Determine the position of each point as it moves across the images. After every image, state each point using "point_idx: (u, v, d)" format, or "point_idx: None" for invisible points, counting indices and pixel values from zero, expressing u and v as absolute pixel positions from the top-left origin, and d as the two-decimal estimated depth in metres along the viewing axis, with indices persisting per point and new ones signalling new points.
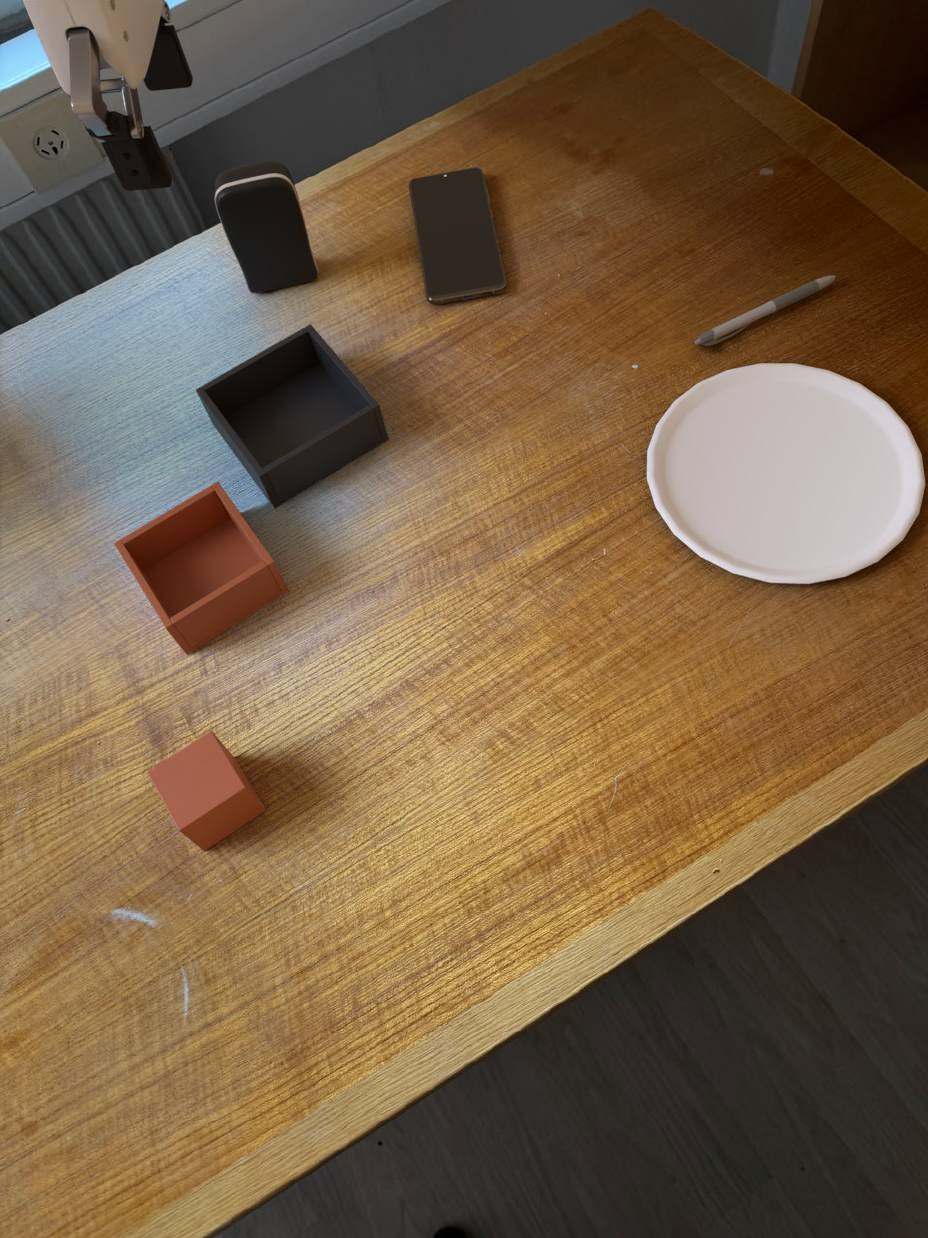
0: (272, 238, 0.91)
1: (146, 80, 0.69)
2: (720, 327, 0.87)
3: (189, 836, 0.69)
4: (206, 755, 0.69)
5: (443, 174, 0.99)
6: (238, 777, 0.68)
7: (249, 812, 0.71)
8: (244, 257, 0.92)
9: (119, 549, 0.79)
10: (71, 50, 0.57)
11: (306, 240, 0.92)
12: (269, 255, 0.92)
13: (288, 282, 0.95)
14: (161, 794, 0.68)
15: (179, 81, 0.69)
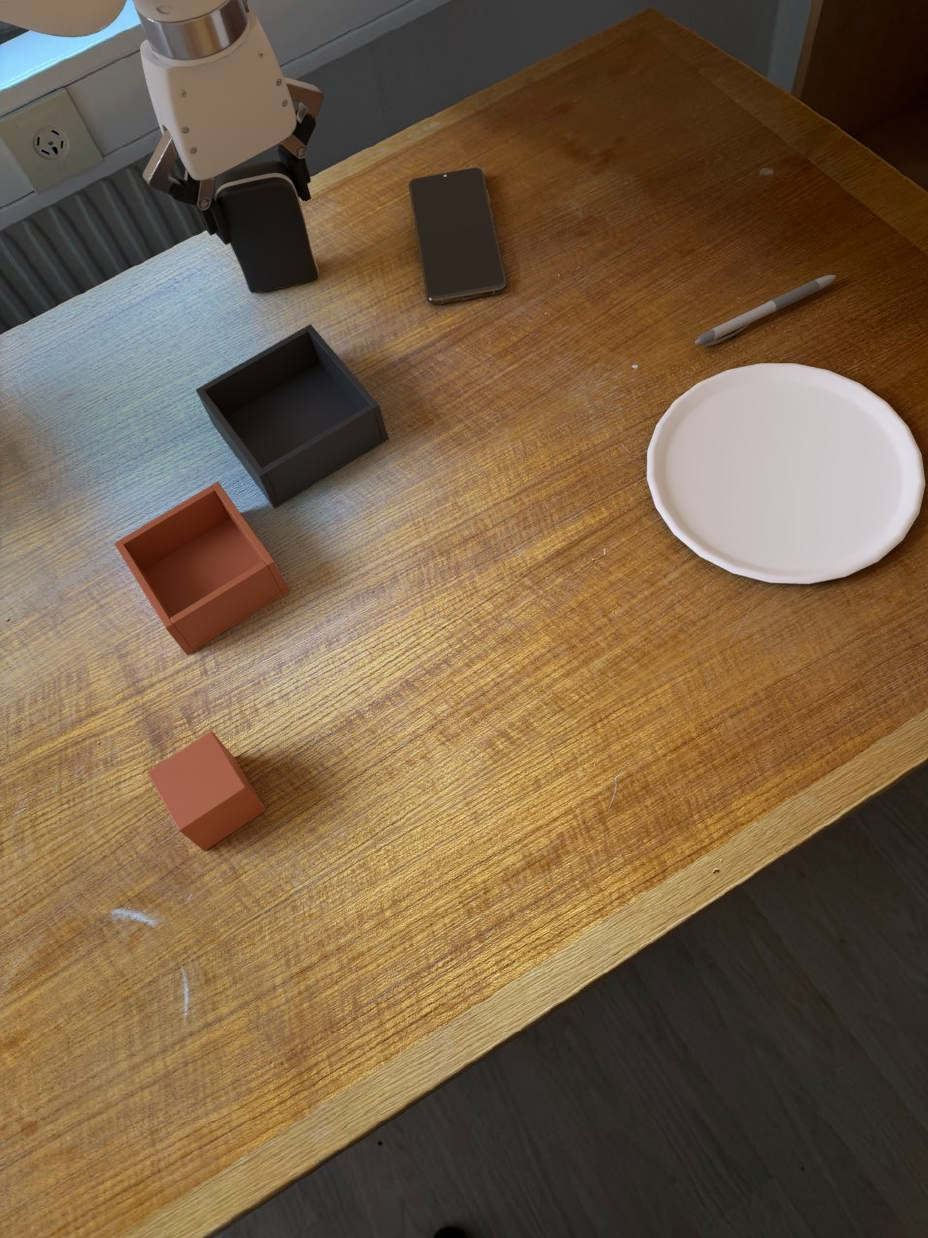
0: (272, 238, 0.91)
1: None
2: (720, 327, 0.87)
3: (189, 836, 0.69)
4: (206, 755, 0.69)
5: (443, 174, 0.99)
6: (238, 777, 0.68)
7: (249, 812, 0.71)
8: (244, 257, 0.92)
9: (119, 549, 0.79)
10: (160, 141, 0.81)
11: (306, 240, 0.92)
12: (269, 255, 0.92)
13: (288, 282, 0.95)
14: (161, 794, 0.68)
15: (299, 194, 0.90)
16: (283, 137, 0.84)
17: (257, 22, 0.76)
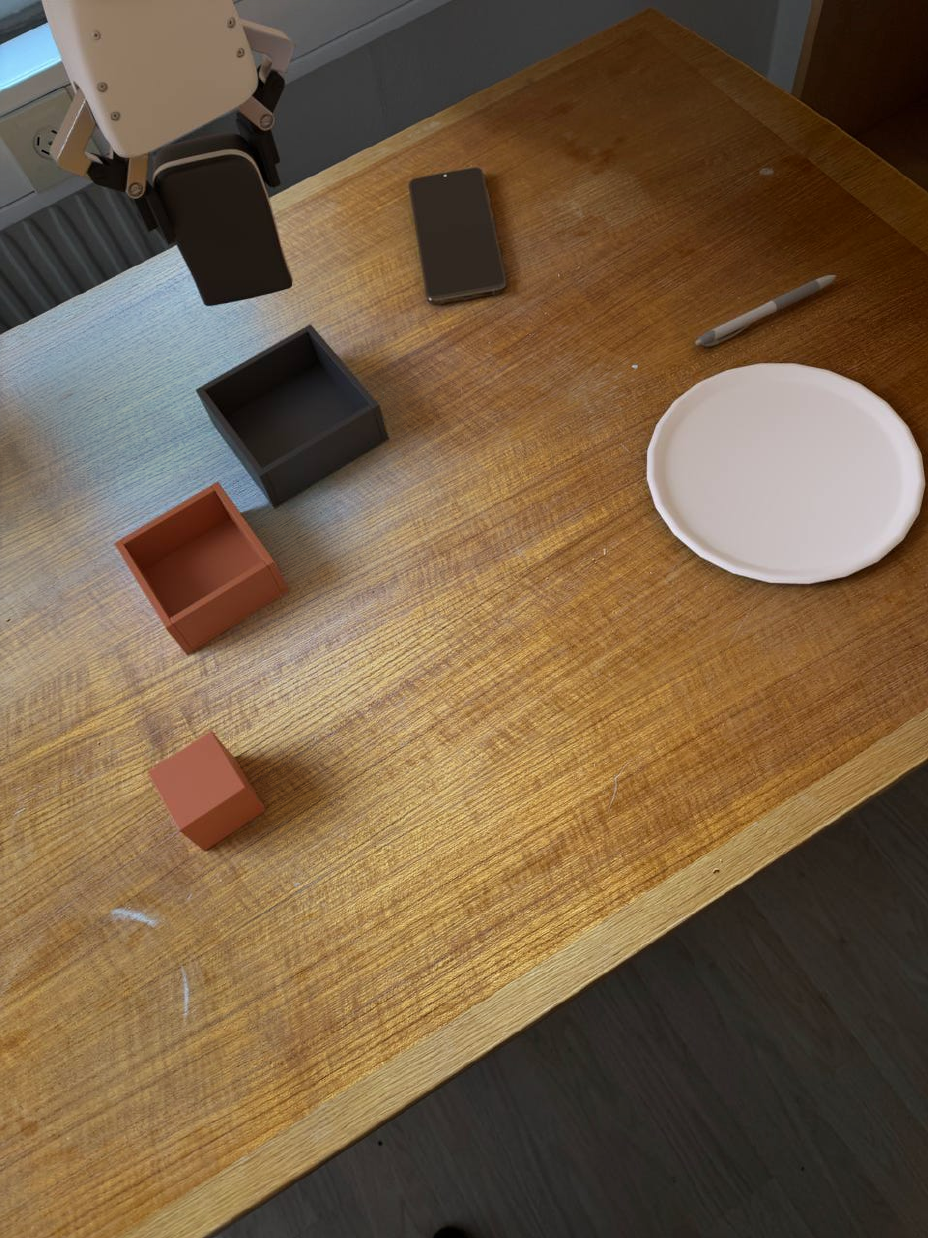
0: (230, 235, 0.70)
1: None
2: (721, 327, 0.87)
3: (189, 836, 0.69)
4: (206, 755, 0.69)
5: (443, 174, 0.99)
6: (238, 777, 0.68)
7: (249, 812, 0.71)
8: (194, 260, 0.71)
9: (119, 549, 0.79)
10: (72, 104, 0.60)
11: (275, 238, 0.71)
12: (227, 258, 0.71)
13: (253, 292, 0.74)
14: (161, 794, 0.68)
15: (264, 178, 0.69)
16: (240, 100, 0.63)
17: None
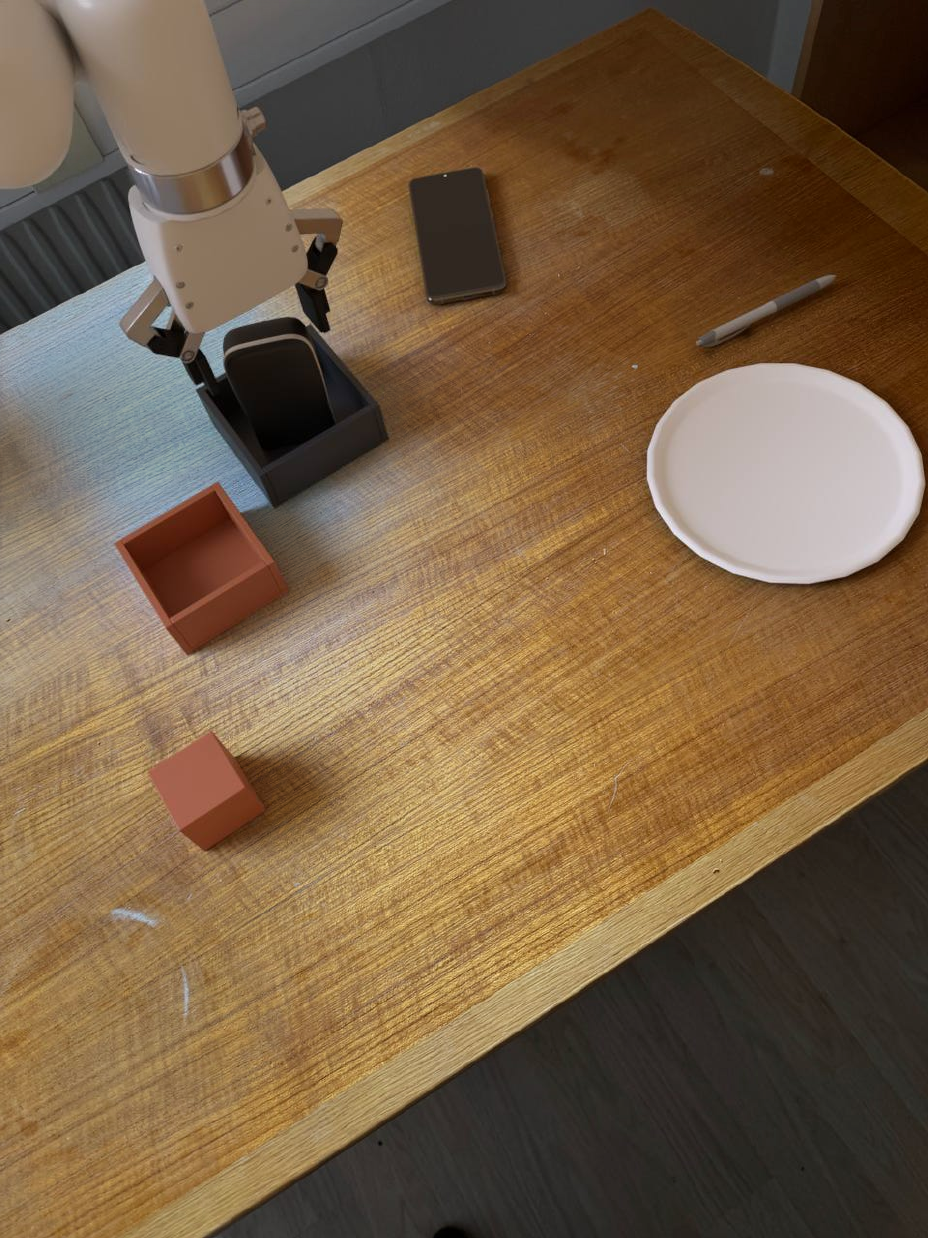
0: (286, 398, 0.81)
1: None
2: (721, 328, 0.87)
3: (189, 836, 0.69)
4: (206, 755, 0.69)
5: (443, 174, 0.99)
6: (238, 777, 0.68)
7: (249, 812, 0.71)
8: (255, 417, 0.83)
9: (119, 549, 0.79)
10: (147, 289, 0.70)
11: (324, 398, 0.82)
12: (283, 414, 0.83)
13: (304, 438, 0.86)
14: (161, 794, 0.68)
15: (316, 325, 0.79)
16: (292, 283, 0.73)
17: (265, 166, 0.66)
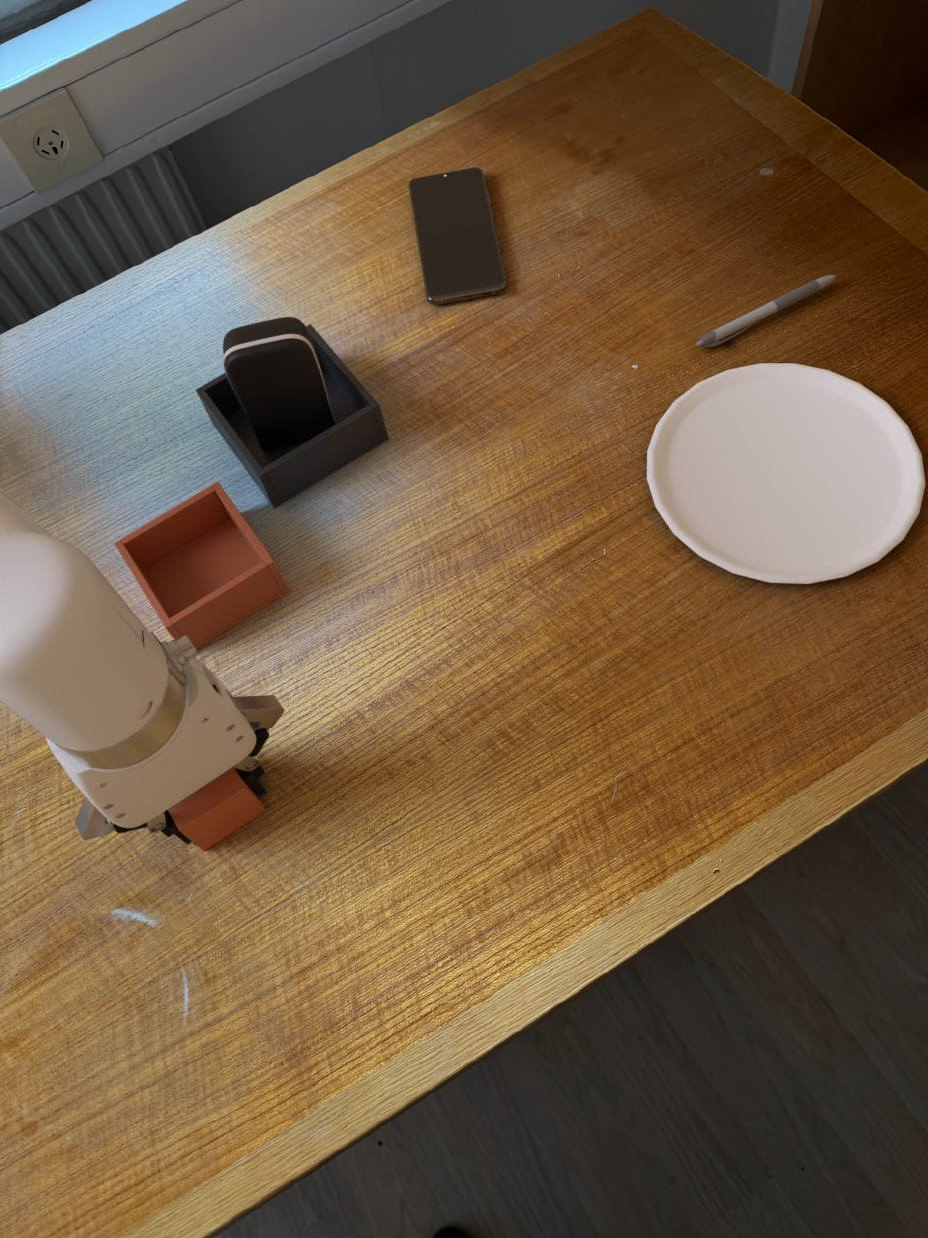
0: (286, 398, 0.81)
1: None
2: (722, 328, 0.87)
3: (189, 836, 0.69)
4: None
5: (443, 174, 0.99)
6: (238, 777, 0.68)
7: (249, 812, 0.71)
8: (255, 417, 0.83)
9: (119, 549, 0.79)
10: None
11: (324, 398, 0.82)
12: (283, 414, 0.83)
13: (304, 438, 0.86)
14: None
15: None
16: (239, 760, 0.66)
17: (199, 691, 0.58)
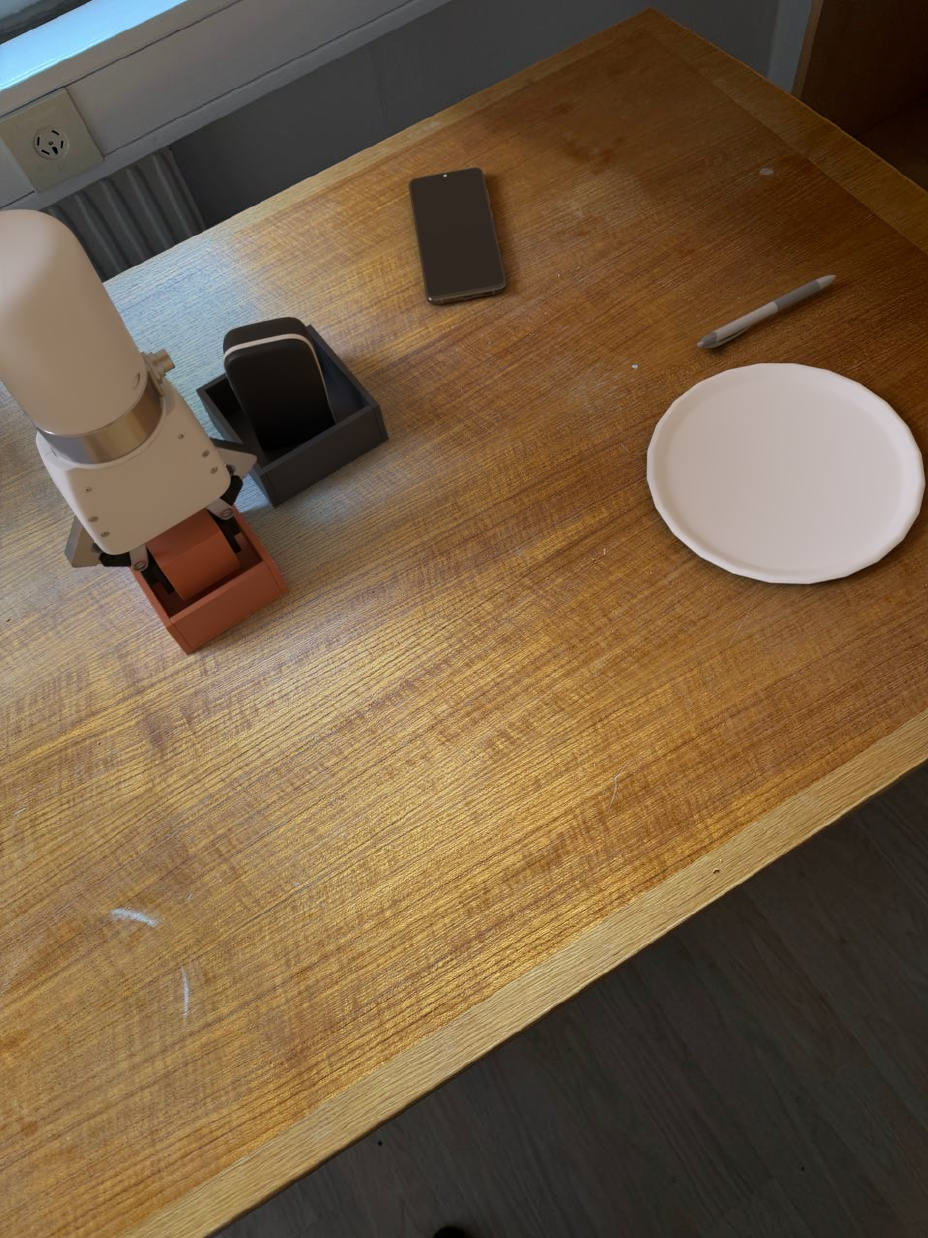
0: (286, 398, 0.81)
1: None
2: (722, 329, 0.87)
3: (169, 577, 0.74)
4: None
5: (443, 174, 0.99)
6: (215, 523, 0.74)
7: (225, 564, 0.77)
8: (255, 417, 0.83)
9: None
10: (74, 521, 0.69)
11: (324, 398, 0.82)
12: (283, 414, 0.83)
13: (304, 438, 0.86)
14: None
15: None
16: (215, 498, 0.72)
17: (175, 404, 0.64)
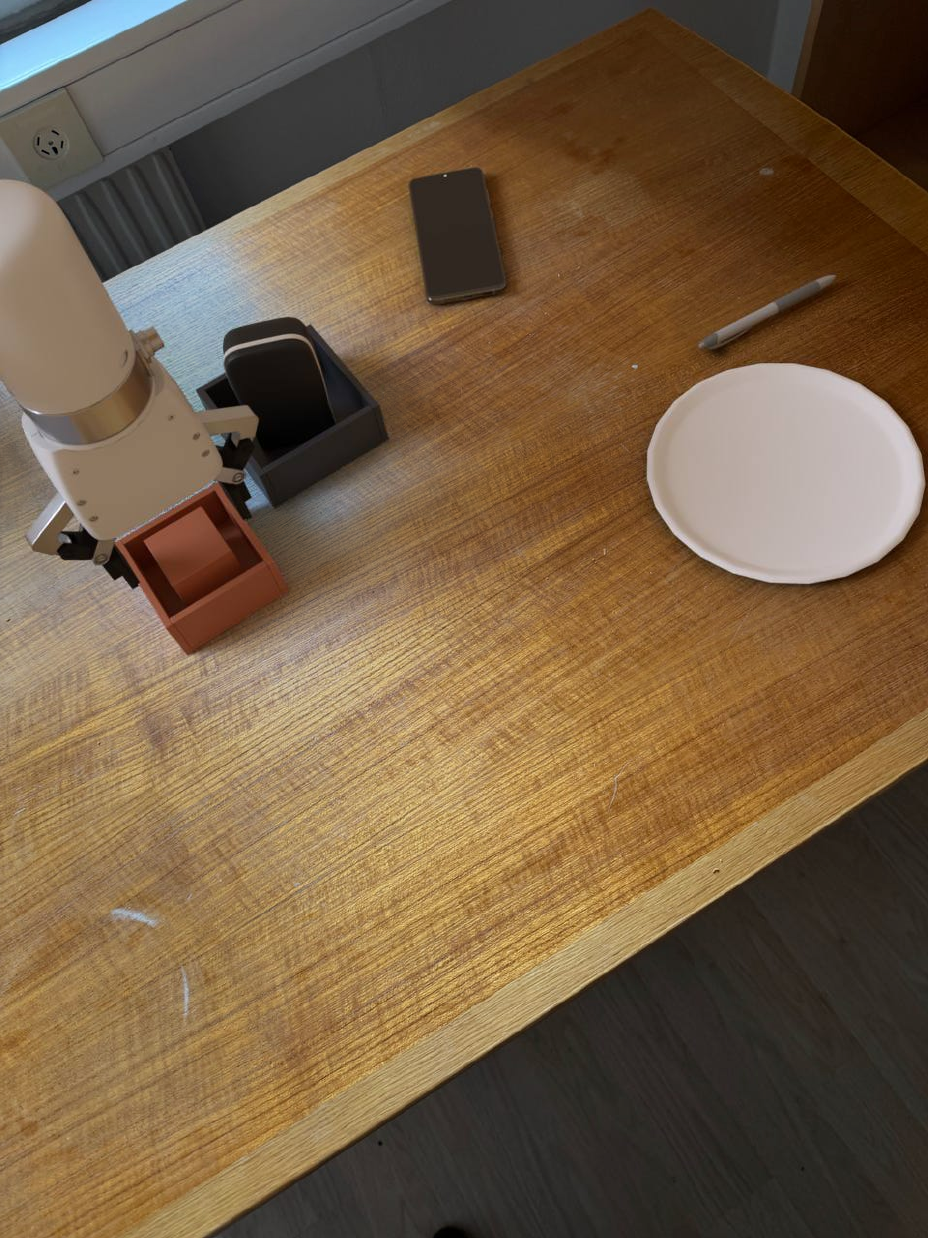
0: (286, 398, 0.81)
1: None
2: (723, 330, 0.86)
3: (181, 595, 0.77)
4: (197, 525, 0.78)
5: (443, 174, 0.99)
6: (225, 542, 0.77)
7: None
8: None
9: (119, 549, 0.79)
10: (51, 501, 0.67)
11: (324, 398, 0.82)
12: (283, 414, 0.83)
13: (304, 438, 0.86)
14: (156, 557, 0.77)
15: (238, 512, 0.76)
16: (206, 483, 0.70)
17: (165, 385, 0.63)
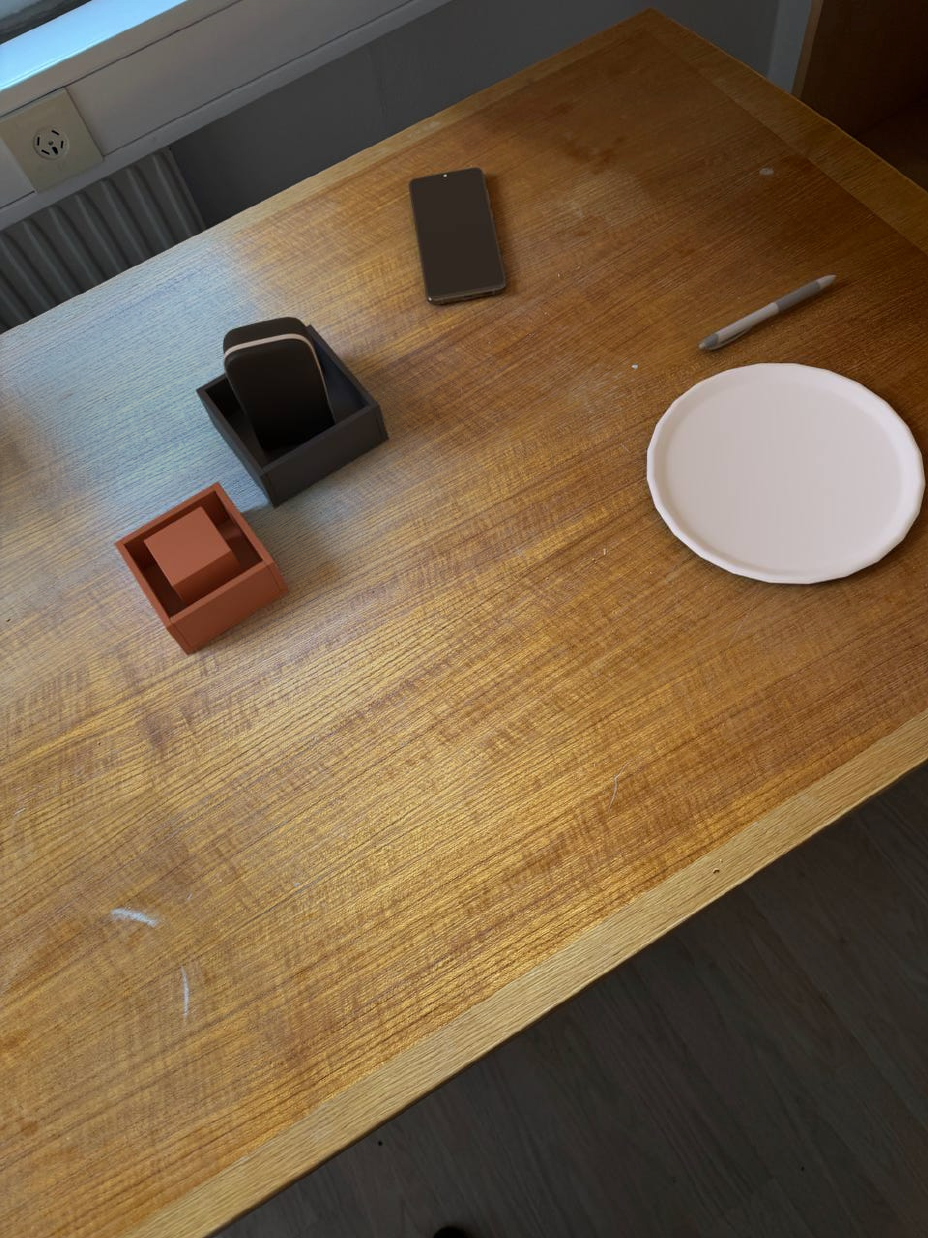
0: (286, 398, 0.81)
1: None
2: (724, 330, 0.86)
3: (181, 595, 0.77)
4: (197, 525, 0.78)
5: (443, 174, 0.99)
6: (225, 542, 0.77)
7: None
8: (255, 417, 0.83)
9: (119, 549, 0.79)
10: None
11: (324, 398, 0.82)
12: (283, 414, 0.83)
13: (304, 438, 0.86)
14: (156, 557, 0.77)
15: None
16: None
17: None
